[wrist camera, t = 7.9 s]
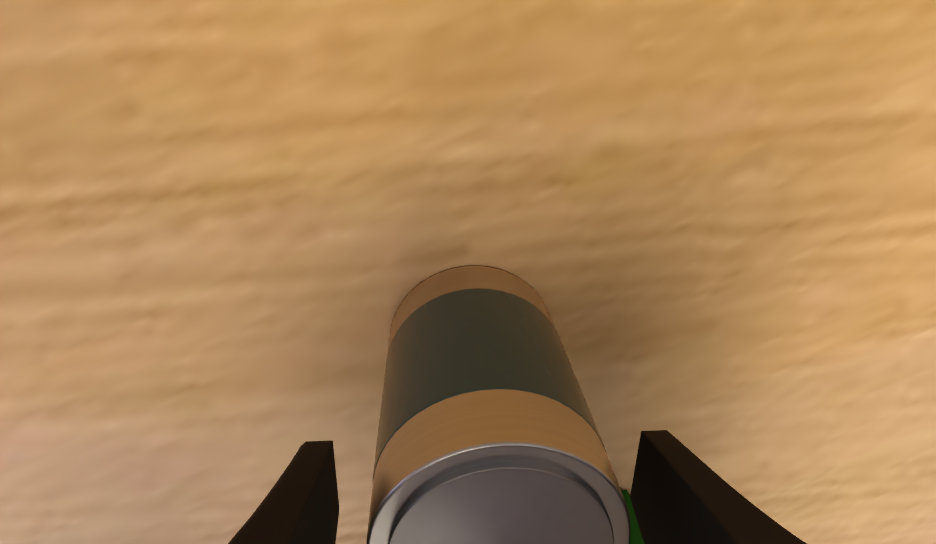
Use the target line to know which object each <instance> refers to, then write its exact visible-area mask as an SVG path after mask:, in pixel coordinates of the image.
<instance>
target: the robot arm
mask: <svg viewBox="0 0 936 544" xmlns="http://www.w3.org/2000/svg"><path fill="white" fill-rule="evenodd" d="M630 498H631V502H632V505H633V509H634V512H635V516H636V519H637V523H638V526H639V529H640V532H641V535H642V539H643V541H644V543H645V544H806V543H805V542H803V541H802V540H800V539H799V538H797V537H796V536H794V535H793V534H792V533H790V532H789V531H787V530H786V529H785V528H783V527H782V526H780V525H779V524H778V523H777V522H775V521H774V520H773V519H771V518H770V517H769V516H767V515H766V514H765V513H763V512H762V511H761V510H760V509H758V508H757V507H756V506H754V505H753V504H752V503H751V502H749V501H748V500H747V499H746V498H744V497H743V496H742V495H741V494H739V493H738V492H737V491H736V490H735V489H733V488H732V487H731V486H730V485H729V484H728V483H726V482H725V481H724V480H723V479H722V478H720V477H719V476H718V475H717V474H716V473H715V472H714V471H712V470H711V469H710V468H709V467H708V466H707V465H706V464H704V463H703V462H702V461H701V460H700V459H699V458H698V457H697V456H695V455H694V454H693V453H692V452H691V451H690V450H689V449H688V448H686V447H685V446H684V445H683V444H682V443H681V442H680V441H679V440H677V439H676V438H675V437H674V436H673V435H672V434H670V433H669V432H668V431H667V430H659V431H641V436H640V442H639V448H638V454H637V460H636V465H635V471H634V477H633V483H632V489H631V495H630ZM338 515H339V501H338V490H337V480H336V470H335V459H334V449H333V441H310V442H305V443H304V444H303V445H301V447H300V448H299V450H298V451H297V453H296V455H295V456H294V458H293V459H292V461H291V462H290V464H289V465H288V467H287V468H286V470H285V471H284V473H283V474H282V475H281V477H280V478H279V480H278V481H277V483H276V484H275V485H274V487H273V488H272V489H271V491H270V492H269V493H268V495H267V496H266V497H265V499H264V500H263V501H262V503H261V504H260V505H259V507H258V508H257V509H256V511H255V512H254V513H253V514H252V516H251V517H250V518H249V519H248V521H247V522H246V523H245V524H244V525H243V527H242V528H241V529H240V530H239V531H238V532H237V534H236V535H235V536H234V537H233V538H232V540H231V541H230V542H229V543H228V544H335V541H336V533H337V524H338Z"/></svg>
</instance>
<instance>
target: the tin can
mask: <svg viewBox="0 0 936 544" xmlns="http://www.w3.org/2000/svg"><path fill="white" fill-rule="evenodd" d="M630 533H631V523H630V515H629V511H628V507H627V504H626V501H625V499H624V496H623V494H622V491H621V489H620V486H619V484H618V482H617V479H616V477H615V474H614V472H613V469H612V467H611V464H610V462H609V460H608V457H607V455H606V451H605V448H604V445H603V442H602V440H601V437H600V435H599V433H598V430H597V428H596V425H595V423H594V420H593V418H592V416H591V413H590V411H589V408H588V406H587V403H586V401H585V398H584V396H583V394H582V391H581V389H580V386H579V384H578V381H577V379H576V377H575V374H574V372H573V369H572V367H571V364H570V362H569V359H568V357H567V355H566V352H565V350H564V347H563V345H562V342H561V340H560V338H559V335H558V333H557V331H556V329H555V327H554V325H553V322H552V320H551V317H550V315H549V312H548V310H547V308H546V306H545V304H544V302H543V301H542V299H541V298H540V296H539V295H538V294H537V293H536V291H535V290H534V289H533V288H532V287H531V286H529V285H528V284H527V283H526V282H525V281H523V280H521V279H520V278H518V277H517V276H515V275H513V274H510V273H508V272H506V271H503V270H499V269H496V268H491V267H485V266H464V267H458V268H452V269H449V270H446V271H443V272H440V273H438V274H436V275H433V276H431V277H429V278H428V279H426V280H425V281H423V282H421V283H420V284H419V285H418V286H416V287H415V288H414V289H413V290H412V291H411V292H410V293H409V294H408V295H407V296H406V297H405V299H404V300H403V301H402V303H401V304H400V306H399V308H398V310H397V312H396V314H395V316H394V319H393V322H392V326H391V332H390V340H389V348H388V355H387V360H386V369H385V377H384V386H383V394H382V403H381V412H380V420H379V429H378V438H377V446H376V455H375V464H374V472H373V489H372V498H371V507H370V516H369V524H368V533H367V544H629V543H630Z"/></svg>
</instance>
